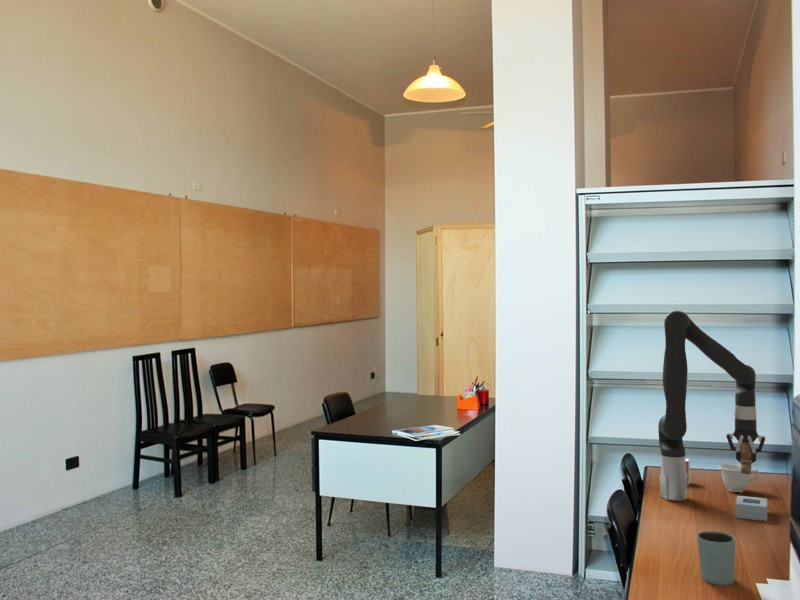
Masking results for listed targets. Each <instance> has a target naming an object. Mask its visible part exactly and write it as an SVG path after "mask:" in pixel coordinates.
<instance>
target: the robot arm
mask: <svg viewBox="0 0 800 600" xmlns="http://www.w3.org/2000/svg"><path fill="white" fill-rule="evenodd" d="M663 325H664V336H665V338H664V340H665V341H664V342H665V346H664V355H663V365H662V387H663V392H664V398H665V414H664V415H663V416H661V418H659V421H658V426H657V428H658V444H659V450H660V463H661V465H660V466H661V467H660V468H661V472H659V496H660V497H661V498H663V499H664V500H665V501H677V502H679V501H680V502H681V501H685V500H687V499H688V497H687V495H688V493H687V492H688V491H687V485H686V459H687V458H686V449H685V446H684V440H683V437H684V436H685V435H686V432H687V427H688V426H687V414H686V413H687V412H686V403H687V402H686V399H687V390H688V389H687V386H688V359H687V353H686V340H688V341H689V342H690V343H692V344H693V345H694V346H695V347H696V348H697V349H699V351H700V352H702V353H703V355H704V356H706V357H707V358H708V359H709V360H711V362H713V363H714V364H716V365H717V366H718V367H720V368H721V369H722V370H724V371H725V372H726V374H728V375H729V376H730V377H731V378H732V379H733V380H735V387H736V389H735V395H734V397H735V398H734V402H735V404H734V414H733V416H734V431H733V433H727V434H725V435H726V439H727V443H728V445H729V448H730V450H731V451H735V459H736V461H737V462H738V463H740V446H741V443H742V442H748V443H750V446H751V449H752V464H755V463H756V462H757V453H761V452H762V450H763V446H764V444H765V441H766V436H762V435H759V434H758V432H757V431H758V430H757V427H758V426H757V406H756V371H755V368H753V367H752V366H750V365H747V364H745V363H744V362H743V361H741V360H740V359H738V358H737V356H736V355H735V354H734V353H732V352H731V351H730V350H729V349H727V348H726V347H725V346H723V345H722V344H721V343H719V342H718V341H717V340H715V339H714V338H713V337H712V336H709V335H708V334H707V333H706V332H704V331H703V330H702V329H701V328H699V327H698V325H696V324H695V322H693V320H692V319H691V318H690V316H689V315H688V314H687V313H686V312H683V311H681V310H673V311H670V312H668V313H667V314H666V315H665V318H664V322H663ZM734 438H735V440H737V445H736V446H734V443H733V439H734ZM757 439H758V441H759V444H758V447H757V448H756V446H755V443H754V442H755V441H756V440H757Z"/></svg>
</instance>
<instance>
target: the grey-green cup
mask: <svg viewBox="0 0 800 600" xmlns="http://www.w3.org/2000/svg"><path fill="white" fill-rule="evenodd" d="M696 541H697V546H698V555H699V557H698V558H699V565H700V573H701V574H700V575H701V578H702V580H704V581H705V582H708V583H710V584H713V585H720V586H721V585H722V586H726V585H732V584H734V583H735V579H736V577H735V575H736V573H735V566H736V565H735V564H736V562H735V559H736V558H735V557H736V537H735V536H734V535H732V534H730V533H726V532H723V531H712V530H708V531H701V532H698V533H697V534H696Z"/></svg>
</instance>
